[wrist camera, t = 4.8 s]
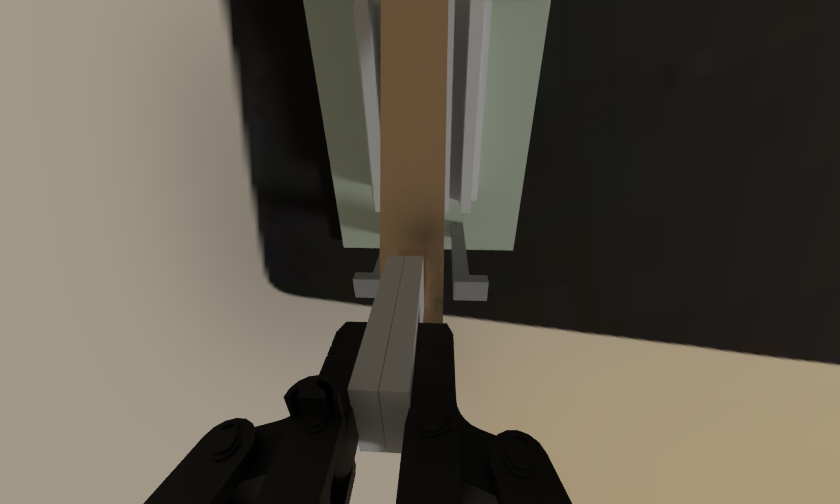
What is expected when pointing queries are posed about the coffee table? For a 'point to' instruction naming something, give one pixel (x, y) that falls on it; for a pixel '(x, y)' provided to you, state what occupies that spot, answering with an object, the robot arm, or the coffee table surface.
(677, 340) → the coffee table surface
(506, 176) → the heatsink fixture
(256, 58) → the coffee table surface
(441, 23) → the strap
